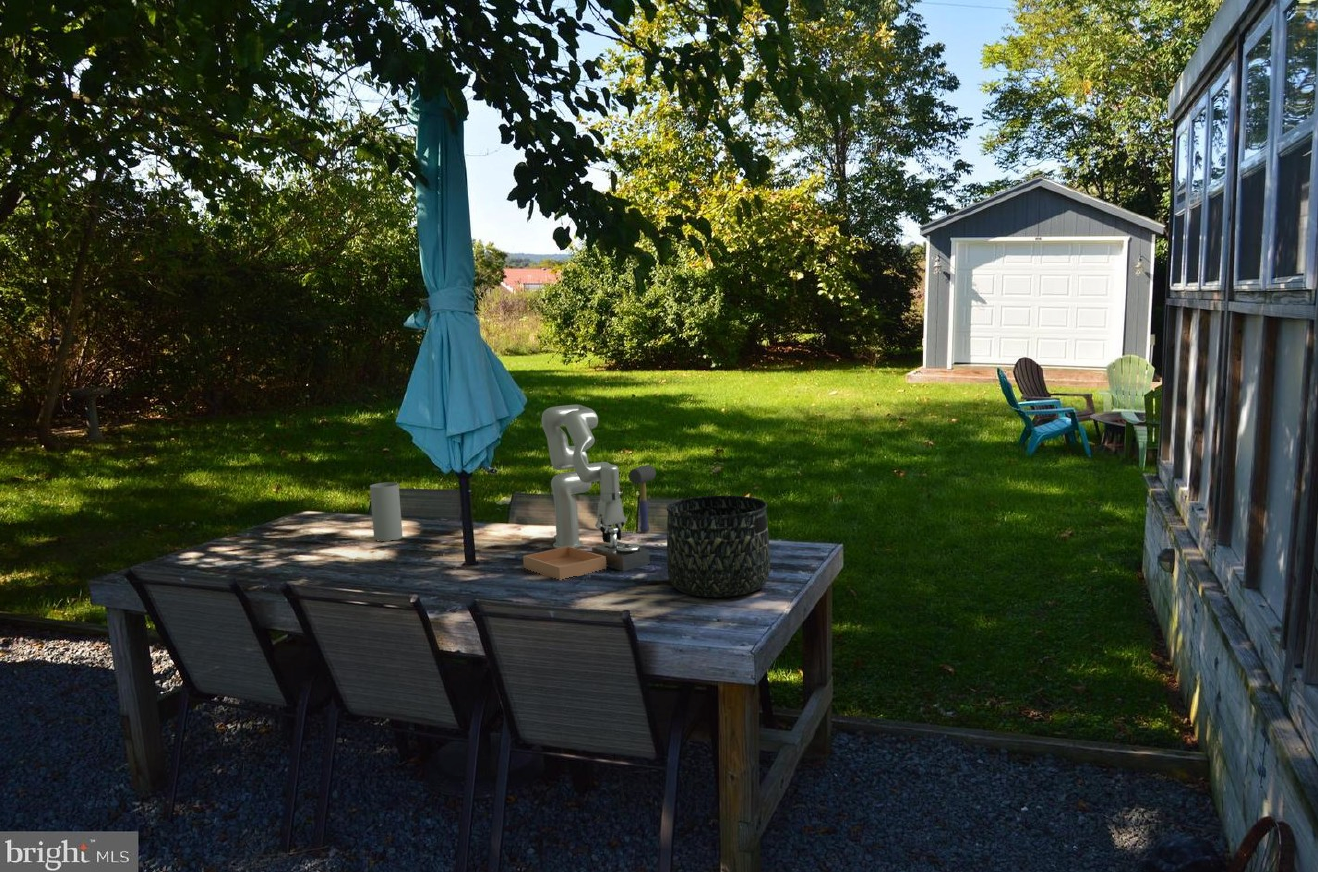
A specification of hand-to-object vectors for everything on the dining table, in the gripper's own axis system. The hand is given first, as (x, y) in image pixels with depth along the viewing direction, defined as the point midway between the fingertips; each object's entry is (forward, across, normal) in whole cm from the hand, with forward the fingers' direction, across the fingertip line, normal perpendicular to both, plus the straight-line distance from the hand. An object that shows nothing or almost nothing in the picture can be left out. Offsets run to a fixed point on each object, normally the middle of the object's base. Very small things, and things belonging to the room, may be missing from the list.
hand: (612, 540), depth 408 cm
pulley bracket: (+8, 0, +5) cm, 10 cm away
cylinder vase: (+10, +46, -109) cm, 118 cm away
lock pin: (+7, 0, 0) cm, 7 cm away
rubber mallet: (+9, -40, -30) cm, 51 cm away
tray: (+9, +20, -5) cm, 22 cm away
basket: (+8, -4, +58) cm, 59 cm away
